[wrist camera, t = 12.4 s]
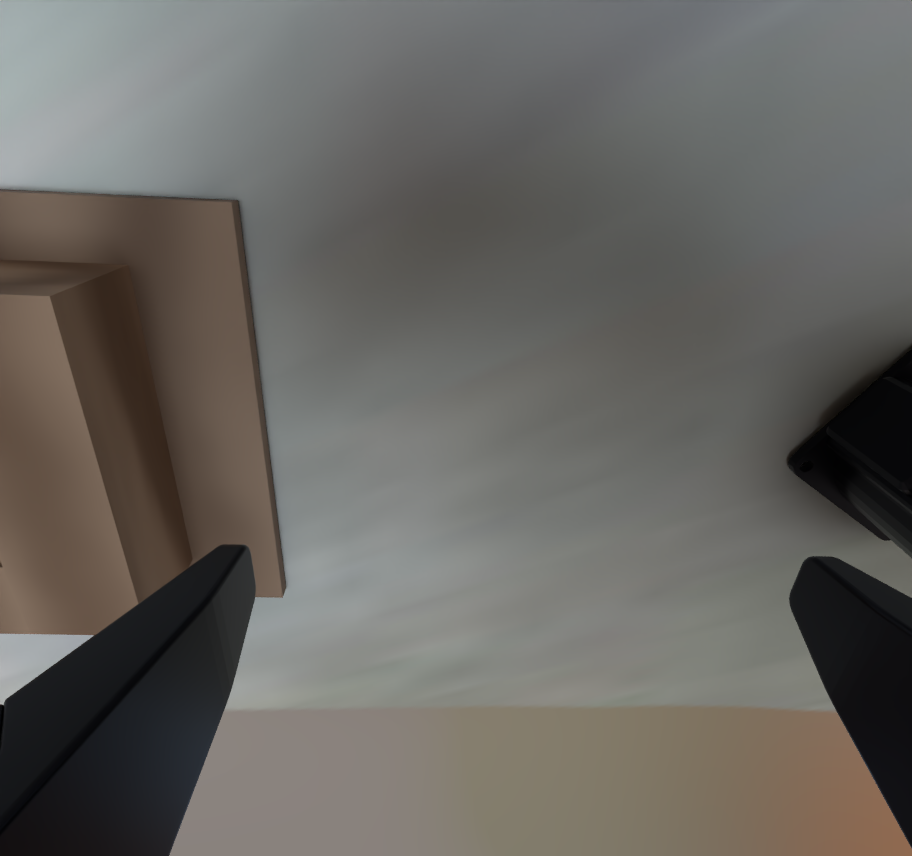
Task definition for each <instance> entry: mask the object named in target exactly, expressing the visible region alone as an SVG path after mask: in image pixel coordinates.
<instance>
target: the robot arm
mask: <svg viewBox="0 0 912 856" xmlns="http://www.w3.org/2000/svg"><path fill="white" fill-rule="evenodd" d="M805 461H807V463H806V464H805V465H803V466H801V465H802V463H804V462H805ZM788 465H789V468H790V469H791V470H792V471H793V472H794V473H795V474H796V475H797V476H798V477H800V478H801V479H802V480H804V481H805V482H806V483H807V484H809V485H810V486H811V487H813V488H814V489H815V490H817V491H818V492H819V493H821V494H822V495H823V496H825V497H826V498H827V499H829V500H830V501H831V502H833V503H834V504H835V505H837V506H838V507H839V508H841V509H842V510H843V511H844V512H846V513H847V514H848V515H850V516H851V517H852V518H854V519H855V520H856V521H858V522H859V523H860V524H862V525H863V526H864V527H866V528H867V529H868V530H870V531H871V532H872V533H874V534H875V535H876V536H878V537H879V538H880V539H882V540H892V541H893V542H894V543H895V544H896V545H898V546H899V547H900V548H901V549H902V550H903V551H904V552H905V553H906V554H908V555H909V556H910V557H911V558H912V350H910V351H909V352H908V353H907V354H906V355H905V356H904V357H903V358H901V359H900V360H899V361H898V362H897V363H896V364H895V365H894V366H892V367H891V368H890V369H889V370H888V371H887V372H886V373H885V374H883V375H882V376H881V377H880V378H879V379H878V380H877V381H876V382H874V383H873V384H872V385H871V386H870V387H869V388H868V389H867V390H865V391H864V392H863V393H862V394H861V395H860V396H859V397H857V398H856V399H855V400H854V401H853V402H852V403H851V404H850V405H848V406H847V407H846V408H845V409H844V410H843V411H842V412H841V413H839V414H838V415H837V416H836V417H835V418H834V419H833V420H832V421H830V422H829V423H828V424H827V425H826V426H825V427H824V428H823V429H821V430H820V431H819V432H818V433H817V434H816V435H815V436H814V437H812V438H811V439H810V440H809V441H808V442H807V443H806V444H805V445H803V446H802V447H801V448H800V449H799V450H798V451H797V452H796V453H794V454H793V455H792V457H791V458H790V459H789V462H788ZM255 594H256V582H255V576H254V570H253V563H252V557H251V552H250V549H249V547H248V546H246V545H244V544H222V545H220V546H218V547H216V548H215V549H214V550H212V551H211V552H209V553H208V554H207V555H205V556H204V557H203V558H201V559H200V560H198V561H197V562H196V563H194V564H193V565H191V566H190V567H189V568H187V569H186V570H185V571H183V572H182V573H180V574H179V575H178V576H176V577H175V578H173V579H172V580H171V581H169V582H168V583H166V584H165V585H164V586H162V587H161V588H160V589H158V590H157V591H155V592H154V593H153V594H151V595H150V596H148V597H147V598H146V599H144V600H143V601H142V602H140V603H139V604H137V605H136V606H135V607H133V608H132V609H130V610H129V611H128V612H126V613H125V614H124V615H122V616H121V617H119V618H118V619H117V620H115V621H114V622H112V623H111V624H110V625H108V626H107V627H106V628H104V629H103V630H101V631H100V632H99V633H97V634H96V635H94V636H93V637H92V638H90V639H89V640H88V641H86V642H85V643H83V644H82V645H81V646H79V647H78V648H76V649H75V650H74V651H72V652H71V653H70V654H68V655H67V656H65V657H64V658H63V659H61V660H60V661H58V662H57V663H56V664H54V665H53V666H52V667H50V668H49V669H47V670H46V671H45V672H43V673H42V674H40V675H39V676H38V677H36V678H35V679H34V680H32V681H31V682H29V683H28V684H27V685H25V686H24V687H22V688H21V689H20V690H18V691H17V692H16V693H14V694H13V695H11V696H10V697H9V698H7V699H6V700H5V702H4V705H0V856H169V855H170V852H171V849H172V846H173V844H174V841H175V838H176V836H177V833H178V831H179V828H180V825H181V823H182V820H183V817H184V815H185V812H186V810H187V807H188V804H189V802H190V799H191V796H192V794H193V791H194V788H195V786H196V783H197V781H198V778H199V775H200V773H201V770H202V767H203V765H204V762H205V759H206V757H207V754H208V751H209V748H210V746H211V743H212V741H213V738H214V735H215V733H216V730H217V727H218V725H219V722H220V720H221V717H222V714H223V712H224V709H225V706H226V704H227V701H228V698H229V695H230V692H231V689H232V685H233V682H234V678H235V675H236V671H237V667H238V663H239V659H240V655H241V651H242V647H243V643H244V639H245V635H246V631H247V628H248V624H249V620H250V616H251V612H252V608H253V604H254V600H255ZM789 601H790V607H791V610H792V613H793V615H794V617H795V620H796V622H797V624H798V627H799V629H800V631H801V634H802V636H803V638H804V641H805V643H806V645H807V647H808V650H809V652H810V654H811V657H812V659H813V661H814V664H815V666H816V668H817V671H818V673H819V675H820V678H821V680H822V682H823V684H824V687H825V689H826V691H827V693H828V695H829V697H830V699H831V701H832V703H833V705H834V707H835V709H836V711H837V713H838V715H839V716H840V718H841V720H842V722H843V724H844V726H845V727H846V729H847V731H848V733H849V735H850V737H851V738H852V740H853V742H854V744H855V746H856V747H857V749H858V751H859V753H860V755H861V757H862V758H863V760H864V762H865V764H866V766H867V767H868V769H869V771H870V773H871V775H872V777H873V779H874V780H875V782H876V784H877V786H878V788H879V790H880V791H881V793H882V795H883V797H884V799H885V800H886V802H887V804H888V806H889V808H890V810H891V811H892V813H893V815H894V817H895V819H896V820H897V822H898V824H899V826H900V828H901V830H902V831H903V833H904V835H905V837H906V839H907V841H908V842H909V844H910V846H911V848H912V598H910V597H909V596H907V595H905V594H903V593H901V592H899V591H897V590H896V589H894V588H892V587H890V586H888V585H886V584H884V583H883V582H881V581H879V580H877V579H875V578H873V577H871V576H870V575H868V574H866V573H864V572H862V571H860V570H858V569H857V568H855V567H853V566H851V565H849V564H847V563H845V562H844V561H842V560H840V559H838V558H835V557H822V556H812V557H808V558H807V559H806V560H805V561H804V562H803V564H802V566H801V568H800V571H799V573H798V575H797V578H796V580H795V582H794V585H793V587H792V589H791V592H790V597H789Z"/></svg>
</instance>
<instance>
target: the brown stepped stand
mask: <svg viewBox="0 0 912 856" xmlns="http://www.w3.org/2000/svg"><path fill="white" fill-rule="evenodd" d="M222 544H244V545H246V546H248V547H249V549H250V552H251V557H252V563H253V570H254V576H255V582H256V594H255V597H282V598H283V595H284V592H285V589H286V583H285V575H284V567H283V559H282V551H281V543H280V535H279V527H278V519H277V511H276V503H275V495H274V487H273V478H272V470H271V462H270V454H269V446H268V438H267V430H266V422H265V414H264V406H263V398H262V390H261V382H260V374H259V366H258V358H257V350H256V342H255V334H254V325H253V317H252V309H251V301H250V293H249V285H248V277H247V269H246V261H245V253H244V245H243V237H242V229H241V221H240V213H239V205H238V200H219V199H197V198H176V197H154V196H132V195H110V194H88V193H66V192H44V191H23V190H1V189H0V633H5V634H67V635H96V634H97V633H99V632H100V631H101V630H103V629H104V628H106V627H107V626H108V625H110V624H111V623H112V622H114V621H115V620H117V619H118V618H119V617H121V616H122V615H124V614H125V613H126V612H128V611H129V610H130V609H132V608H133V607H135V606H136V605H137V604H139V603H140V602H142V601H143V600H144V599H146V598H147V597H148V596H150V595H151V594H153V593H154V592H155V591H157V590H158V589H160V588H161V587H162V586H164V585H165V584H166V583H168V582H169V581H171V580H172V579H173V578H175V577H176V576H178V575H179V574H180V573H182V572H183V571H185V570H186V569H187V568H189V567H190V566H191V565H193V564H194V563H196V562H197V561H198V560H200V559H201V558H203V557H204V556H205V555H207V554H208V553H209V552H211V551H212V550H214V549H215V548H216V547H218V546H220V545H222Z"/></svg>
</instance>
